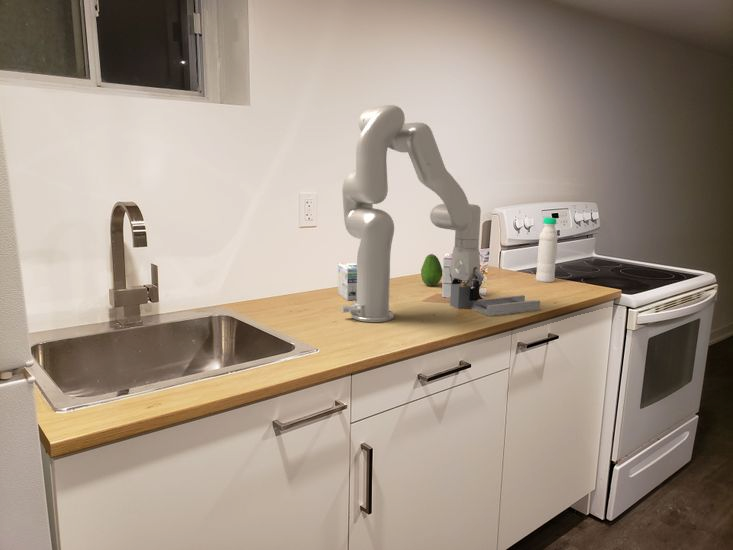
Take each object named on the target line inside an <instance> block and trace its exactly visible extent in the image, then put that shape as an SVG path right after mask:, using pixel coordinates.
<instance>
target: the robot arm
mask: <svg viewBox="0 0 733 550" xmlns="http://www.w3.org/2000/svg"><path fill="white" fill-rule="evenodd" d="M405 120H406V118H405V113H404V111H403V109H402V108H401V107H400V106H397V105H394V104H387V105H380V106H376V107H371V108H367V109H366V110H364V111H363V112H362V113H361V114H360V116H359V119H358V127H359V130H360V132H361V133H360V135H359V137H358V140H357V143H356V148H355V170H352V171H350V172H349V173H348V174H347V175H346V176H345V177H344V179H343V184H342V189H341V190H342V191H341V192H342V193H341V194H342V206H343V219H344V221H343V222H344V226H345V229H346V231H347V233H348V234H349V235H350V236H352V237H354V238H355V239H358V240H360V241H359V246H358V249H357V250H358V251H357V255H356V256H357V258H356V264H357V300H352V304H350V305H341V306H340V312H341V313H349V314H350V316H351V318H352V319H354V320H355V321H359V322H363V323H381V322H388V321H391V320H393V319H394V318H395V313H394V312H393V311H392V310H390V287H391V284H390V281H391V279H390V277H391V250H392V245H393V244H392V243H393V238H394V233H395V224H394V223H395V222H394V220H393V217H392V216H391V215H390V214H389V213H388V212H387V211H385V210H383V209H379V208H374V207H373V205H377V204H380V203H382V202H384V200H385V199H386V198H387V196H388V192H389V191H388V190H389V187H388V186H389V185H388V168H387V166H388V165H387V158H388V157H387V154H388V149H391V150H393V151H395V152H398V153H403V154H404V153H408V156H409V158H410V161H411V163H412V166H413V169H414V171H415V174H416V176H417V179H418V181H419V182H420V183H421V184H422V185H424V186H425V187H426V188H428V189H429V190H431V191H432V192H433V193H434V194H436V195H437V197H439V198H440V200H441V201H442V202H443V203H440V204H437V205H435V206H434V207H433V208H432V209H431V210H430V215H429V218H430V221H431V223H432V224H433V225H434V226H435V227H436V228H440V229H445V230H450V231H455V234H454V247H453V250H452V252H451V254H452V259H451V266H449V272H450V277H451V282H452V284H461V281H462V282H468V283H469V284H470V286H471V288H470V289H469V300H470V301H473V300H479V291H480V288H481V286H482V285H483V281H484V278H485V276H484V275H483V274H482V272H481V265H480V264H481V259H480V257H481V256H480V233H481V213H482V211H481V206H480V205H478V204H474V203H473V204H472V203H469V201H468V197H467V195H466V193H465V191H464V190H463V188H462V186H461V185H460V184H459V183H458V182H457V180H456V179H455V177H454V176H453V175H452V174H451V173H450V172H449V171H448V170H447V168H446V165H445V163H444V160H443V157H442V155H441V152H440V149H439V147H438V144H437V142H436V139H435V137H434V134H433V133H434V132H433V131H432V128H431V127H430V126H429V125H428V124H426V123H424V122H408V123H405V122H406V121H405ZM459 280H460V281H459Z"/></svg>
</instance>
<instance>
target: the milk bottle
mask: <svg viewBox="0 0 733 550" xmlns="http://www.w3.org/2000/svg"><path fill="white" fill-rule="evenodd" d="M542 221H543V228H542V230H541V232H539V236H538V239H539V240H538V245H537V246H538V248H537V263H536V274H535V280H536V281H537V282H540V283H553V282H554V281H555V272H556V260H557V252H558V239H559V235H558V232H557V230H556V228H555V226H556V224H557V218H555V217H544V218H543V220H542Z"/></svg>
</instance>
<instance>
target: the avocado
mask: <svg viewBox="0 0 733 550" xmlns="http://www.w3.org/2000/svg"><path fill="white" fill-rule="evenodd" d="M420 275H421V280H422V282H423V283H424V284H425V285H426V286H430V287H432V285H433V286H435V285H438V284H439V283H440V282H441V280H442V279H443V266H442V265H441V262H440V260H439V258H438V256H437V255H435V254H433V253H429V254H428V255H426V257H425V259H424V262H423V264H422V266H421V269H420Z"/></svg>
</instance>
